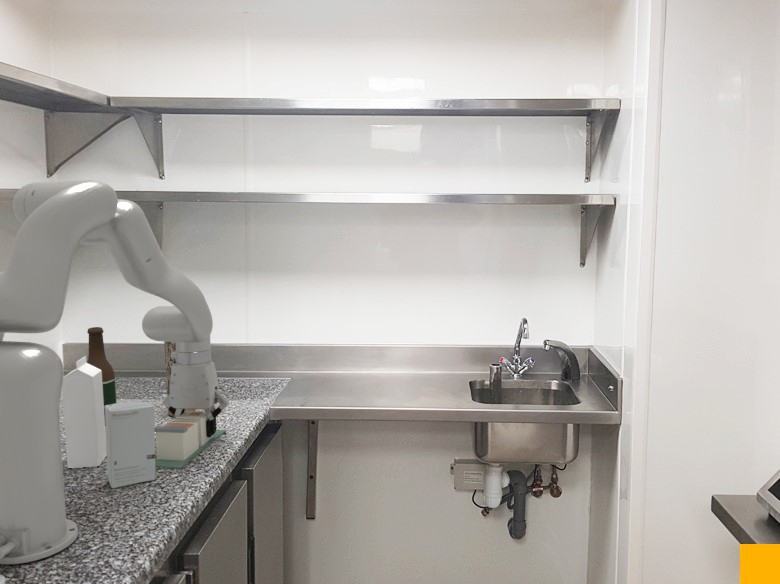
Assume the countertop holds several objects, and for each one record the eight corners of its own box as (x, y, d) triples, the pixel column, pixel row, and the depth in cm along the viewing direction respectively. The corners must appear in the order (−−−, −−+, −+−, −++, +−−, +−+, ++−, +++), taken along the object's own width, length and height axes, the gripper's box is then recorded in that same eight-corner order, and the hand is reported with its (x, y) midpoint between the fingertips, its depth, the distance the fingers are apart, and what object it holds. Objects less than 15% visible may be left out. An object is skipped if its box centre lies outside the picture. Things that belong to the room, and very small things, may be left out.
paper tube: (162, 416, 161) (157, 320, 158) (180, 408, 167) (175, 316, 164) (183, 418, 158) (178, 321, 155) (200, 411, 164) (196, 317, 162)
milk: (107, 456, 133) (101, 355, 131) (98, 467, 127) (92, 361, 125) (76, 458, 132) (70, 356, 130) (66, 469, 126) (60, 362, 124)
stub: (201, 446, 138) (200, 419, 137) (176, 445, 138) (174, 418, 138) (212, 437, 143) (211, 411, 143) (188, 436, 144) (187, 410, 144)
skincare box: (111, 489, 116) (106, 412, 114) (106, 478, 121) (102, 404, 119) (158, 479, 120) (154, 404, 119) (151, 469, 126) (148, 397, 124)
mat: (180, 468, 126) (180, 467, 126) (143, 466, 127) (143, 465, 127) (225, 431, 148) (225, 430, 148) (194, 430, 149) (193, 428, 149)
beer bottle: (113, 426, 153) (107, 329, 150) (79, 428, 151) (73, 331, 149) (121, 416, 160) (116, 324, 158) (89, 418, 159) (83, 325, 156)
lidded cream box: (185, 461, 129) (184, 429, 128) (154, 459, 130) (153, 428, 129) (200, 448, 136) (199, 418, 135) (171, 447, 137) (169, 417, 136)
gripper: (149, 360, 138) (153, 439, 139) (223, 361, 135) (226, 442, 137) (165, 353, 145) (169, 428, 147) (236, 354, 143) (239, 431, 145)
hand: (196, 434), depth 142 cm, fingers closed on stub, 6 cm apart
